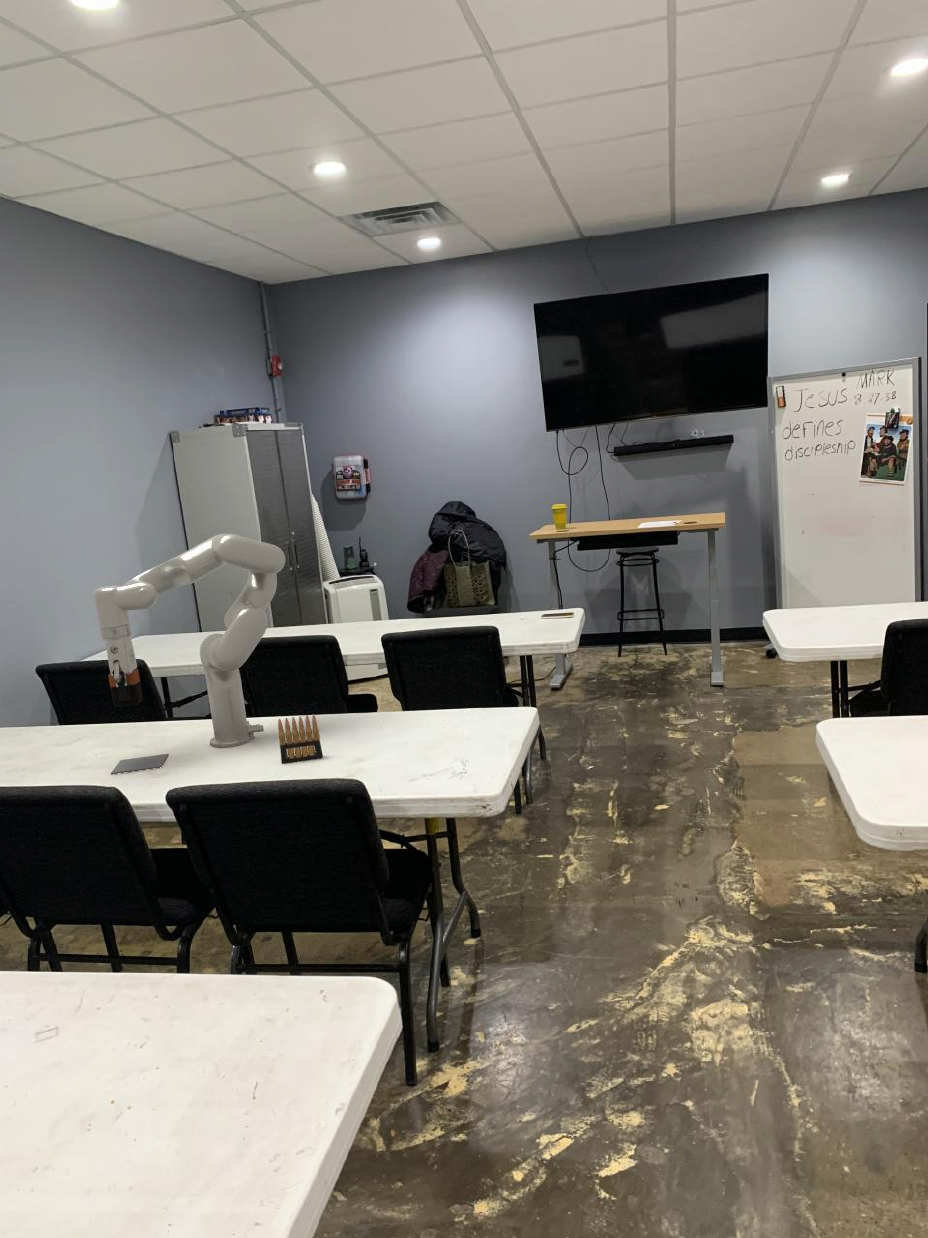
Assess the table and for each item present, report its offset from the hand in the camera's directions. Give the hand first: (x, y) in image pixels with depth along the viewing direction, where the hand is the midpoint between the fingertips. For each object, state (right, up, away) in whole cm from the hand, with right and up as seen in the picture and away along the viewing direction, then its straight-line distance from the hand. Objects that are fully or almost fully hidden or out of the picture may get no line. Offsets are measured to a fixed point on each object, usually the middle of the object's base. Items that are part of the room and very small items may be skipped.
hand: (127, 697), depth 233 cm
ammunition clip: (+48, -16, -7) cm, 52 cm away
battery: (0, -2, 0) cm, 2 cm away
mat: (+2, -19, +3) cm, 19 cm away
